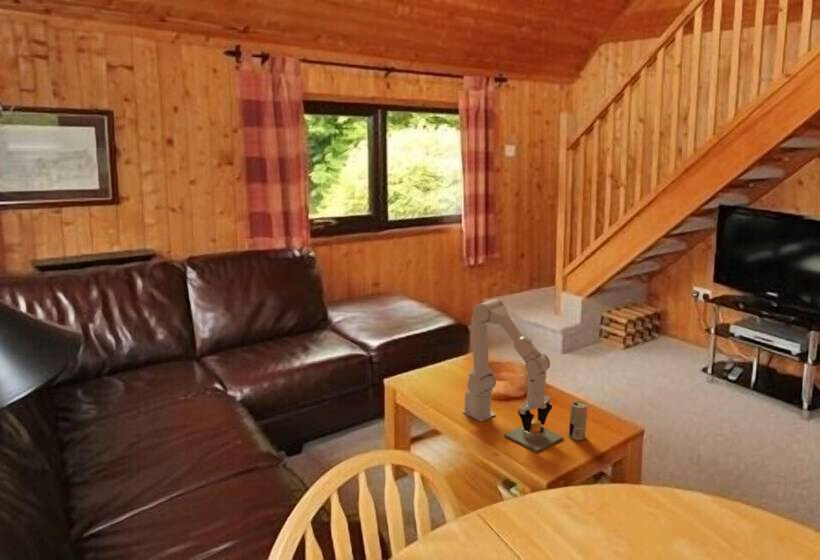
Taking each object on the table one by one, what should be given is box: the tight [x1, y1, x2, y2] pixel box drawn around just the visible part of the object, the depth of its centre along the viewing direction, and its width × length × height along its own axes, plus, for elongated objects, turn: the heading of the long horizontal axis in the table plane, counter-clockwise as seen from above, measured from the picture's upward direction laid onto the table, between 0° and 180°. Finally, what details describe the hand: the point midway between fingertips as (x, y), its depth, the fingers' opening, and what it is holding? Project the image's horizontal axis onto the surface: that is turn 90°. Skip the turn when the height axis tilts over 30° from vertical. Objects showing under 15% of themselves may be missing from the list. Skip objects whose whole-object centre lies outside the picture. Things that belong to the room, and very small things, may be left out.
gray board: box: [503, 425, 564, 453], centre depth 202 cm, size 14×14×1 cm
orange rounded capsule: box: [530, 418, 542, 433], centre depth 201 cm, size 4×4×5 cm
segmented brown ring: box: [522, 425, 546, 441], centre depth 202 cm, size 7×7×2 cm
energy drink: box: [568, 401, 588, 441], centre depth 201 cm, size 5×5×12 cm
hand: (534, 427), depth 201 cm, fingers open, 7 cm apart
